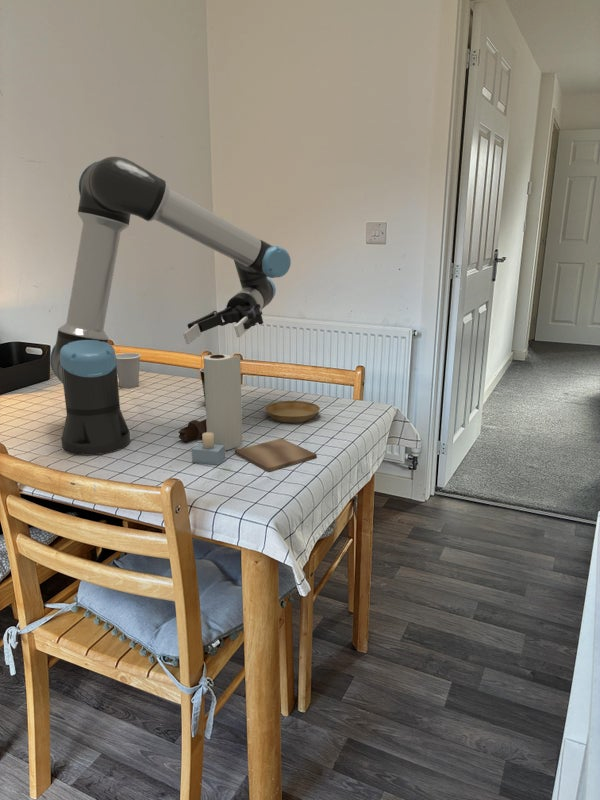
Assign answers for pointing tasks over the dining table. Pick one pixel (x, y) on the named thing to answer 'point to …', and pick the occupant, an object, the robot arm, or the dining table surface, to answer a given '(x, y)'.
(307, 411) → the plant saucer
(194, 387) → the dining table surface
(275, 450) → the board
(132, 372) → the dixie cup
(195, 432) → the dark brown knobby rod
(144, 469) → the dining table surface
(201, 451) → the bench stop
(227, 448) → the paper towel roll
